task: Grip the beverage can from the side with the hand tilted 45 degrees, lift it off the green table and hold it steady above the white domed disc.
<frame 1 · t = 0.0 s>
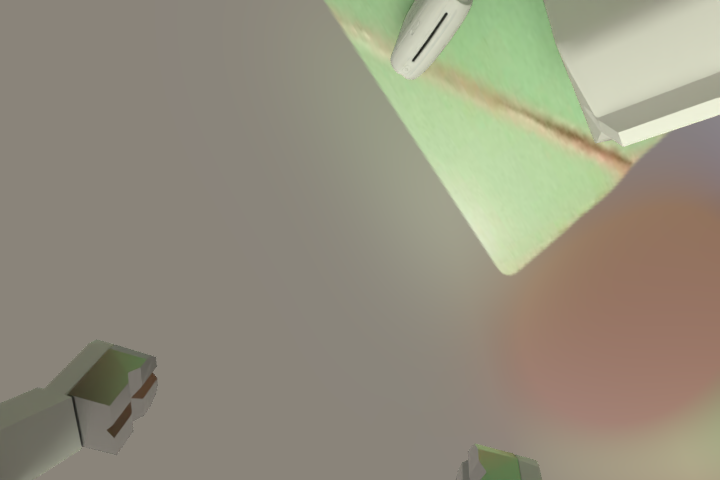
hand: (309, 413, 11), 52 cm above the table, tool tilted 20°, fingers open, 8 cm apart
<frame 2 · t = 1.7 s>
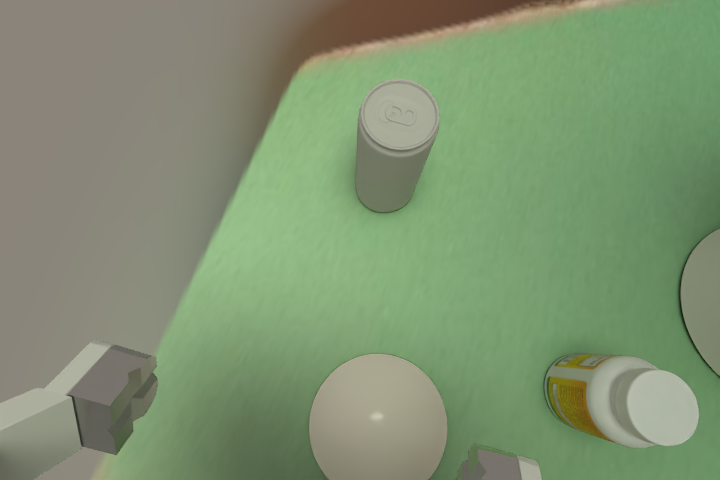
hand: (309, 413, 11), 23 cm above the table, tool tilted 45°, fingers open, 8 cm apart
supplement bottle: (575, 390, 34), on the table
white domed disc: (377, 423, 33), on the table
beverage can: (383, 188, 37), on the table
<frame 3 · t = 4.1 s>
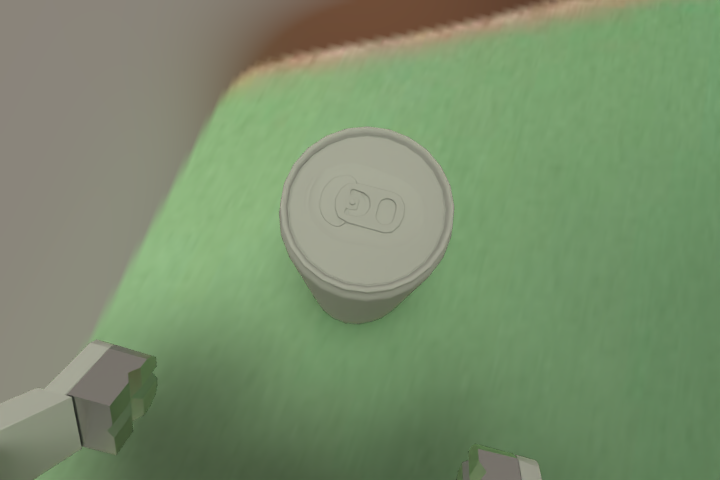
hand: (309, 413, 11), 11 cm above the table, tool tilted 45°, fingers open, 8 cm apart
beverage can: (357, 279, 23), on the table
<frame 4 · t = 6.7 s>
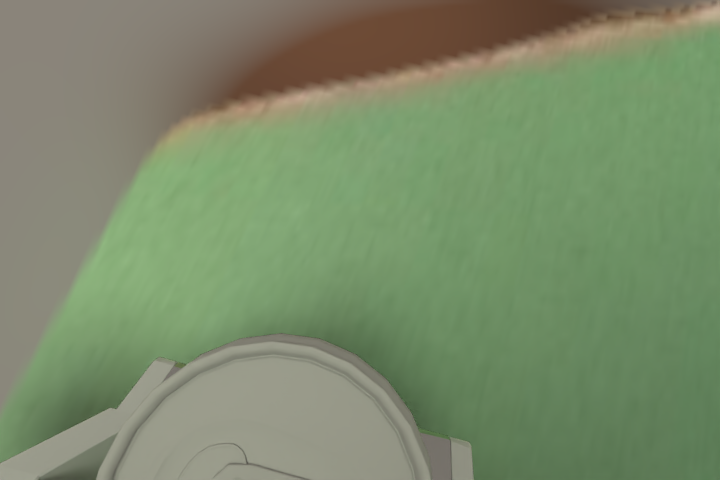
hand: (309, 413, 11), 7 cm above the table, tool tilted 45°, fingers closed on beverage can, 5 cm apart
beverage can: (318, 407, 18), on the table, touching gripper
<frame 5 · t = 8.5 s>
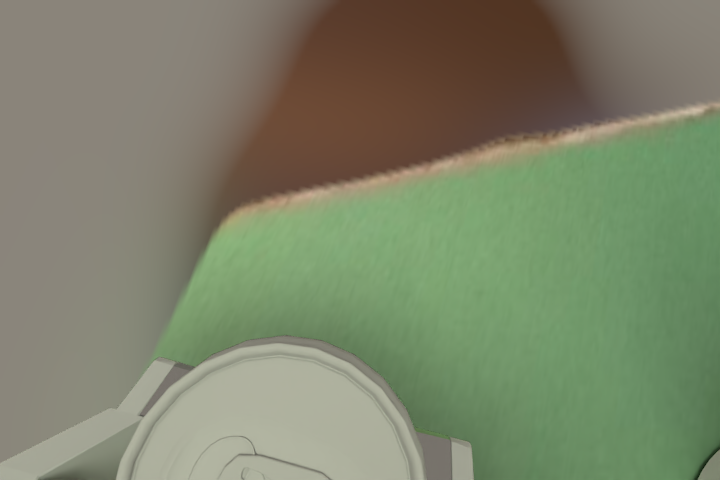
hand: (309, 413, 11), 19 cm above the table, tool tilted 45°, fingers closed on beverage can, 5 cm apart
beverage can: (319, 406, 18), point 12 cm above the table, touching gripper
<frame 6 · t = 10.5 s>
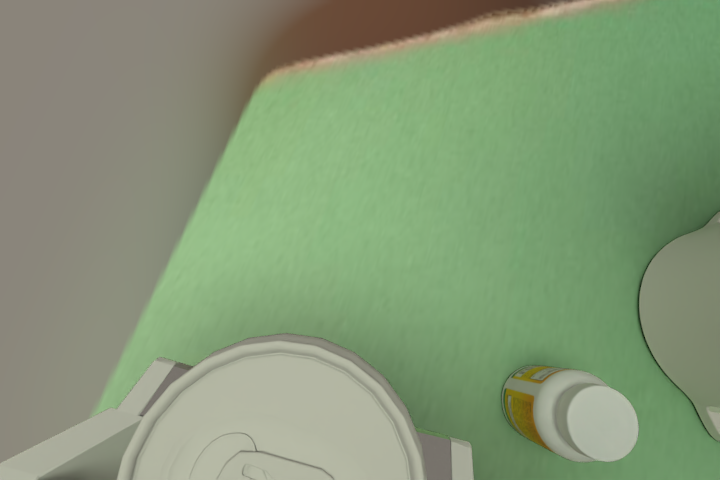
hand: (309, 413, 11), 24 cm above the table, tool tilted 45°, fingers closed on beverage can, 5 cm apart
supplement bottle: (533, 401, 34), on the table
beverage can: (319, 404, 18), point 16 cm above the table, touching gripper
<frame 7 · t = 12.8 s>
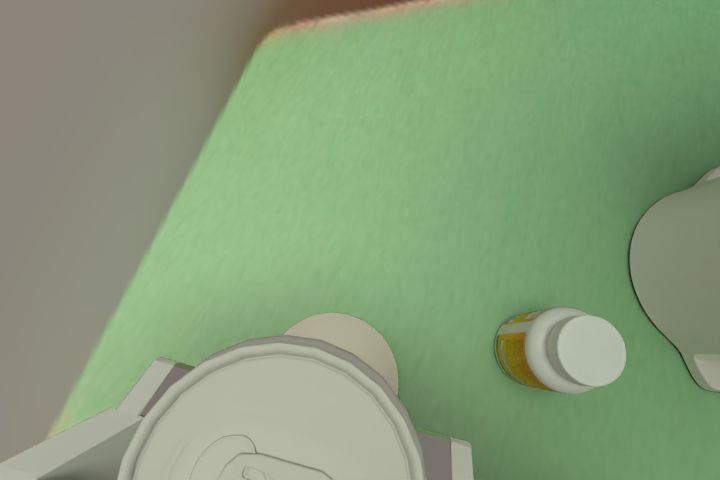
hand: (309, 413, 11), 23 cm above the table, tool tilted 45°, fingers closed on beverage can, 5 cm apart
supplement bottle: (525, 349, 35), on the table
white domed disc: (331, 380, 34), on the table
beverage can: (319, 405, 18), point 16 cm above the table, touching gripper
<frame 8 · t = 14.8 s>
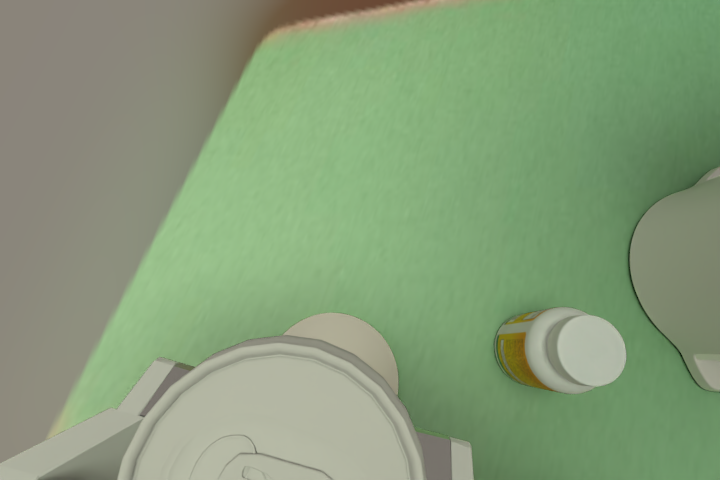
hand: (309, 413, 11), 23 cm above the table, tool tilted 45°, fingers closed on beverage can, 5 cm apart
supplement bottle: (525, 349, 35), on the table
white domed disc: (331, 380, 34), on the table
beverage can: (319, 405, 18), point 16 cm above the table, touching gripper
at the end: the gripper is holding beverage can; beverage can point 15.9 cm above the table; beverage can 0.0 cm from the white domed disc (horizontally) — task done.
